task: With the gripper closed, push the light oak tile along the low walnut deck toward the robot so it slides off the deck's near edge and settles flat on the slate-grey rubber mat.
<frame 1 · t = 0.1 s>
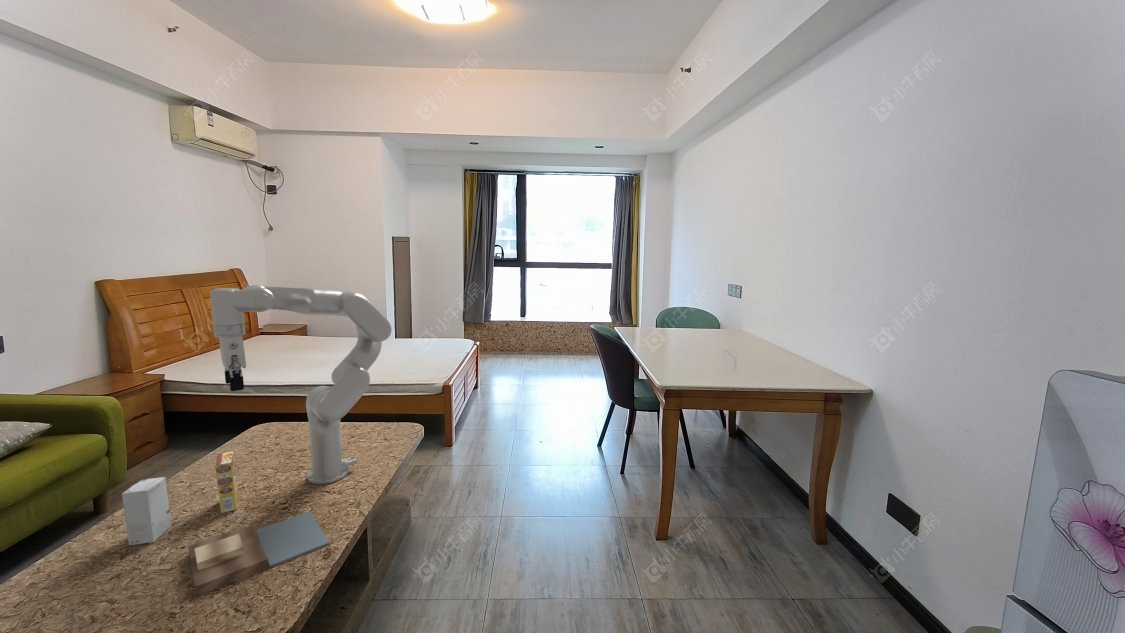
hand: (234, 386, 137), 37 cm above the table, tool pointing down, fingers open, 9 cm apart
tile: (219, 555, 114), point 2 cm above the table, touching deck
mat: (291, 538, 124), on the table
deck: (228, 561, 115), on the table
candy box: (229, 505, 140), on the table
skincare box: (150, 536, 125), on the table
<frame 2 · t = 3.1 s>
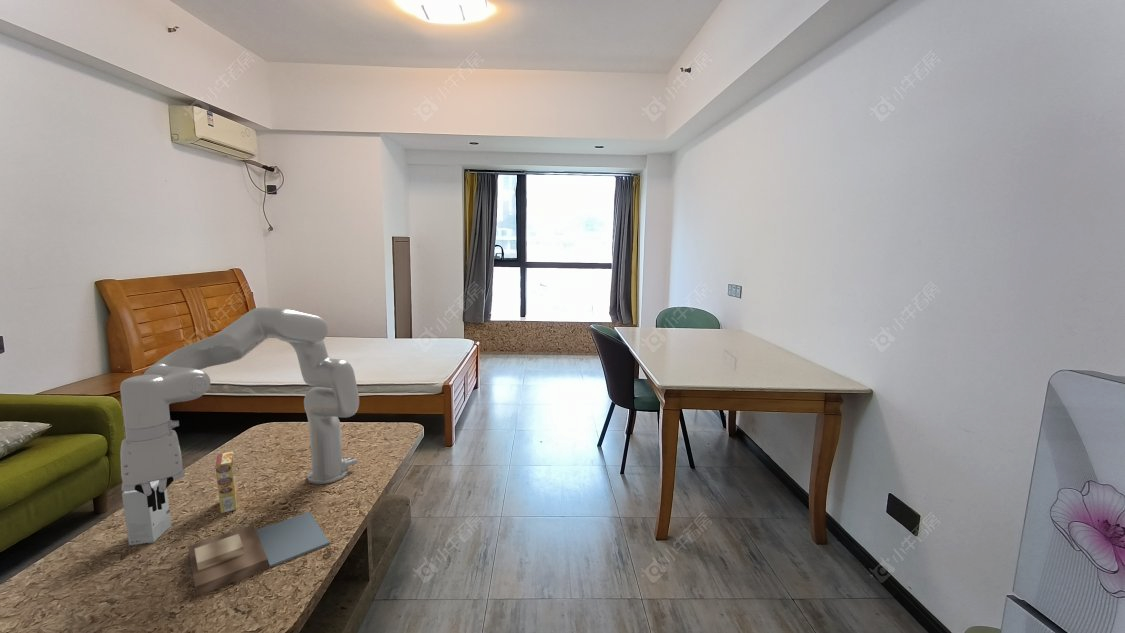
hand: (157, 507, 104), 19 cm above the table, tool pointing down, fingers closed
nothing on the table moved.
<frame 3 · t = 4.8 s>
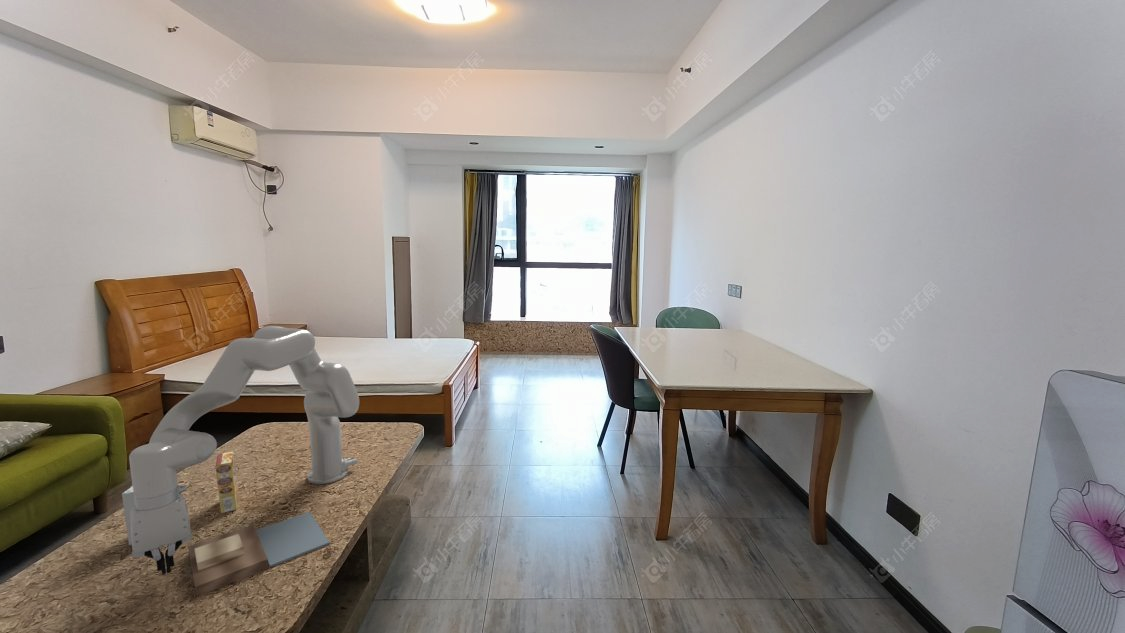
hand: (166, 570, 107), 3 cm above the table, tool pointing down, fingers closed
nothing on the table moved.
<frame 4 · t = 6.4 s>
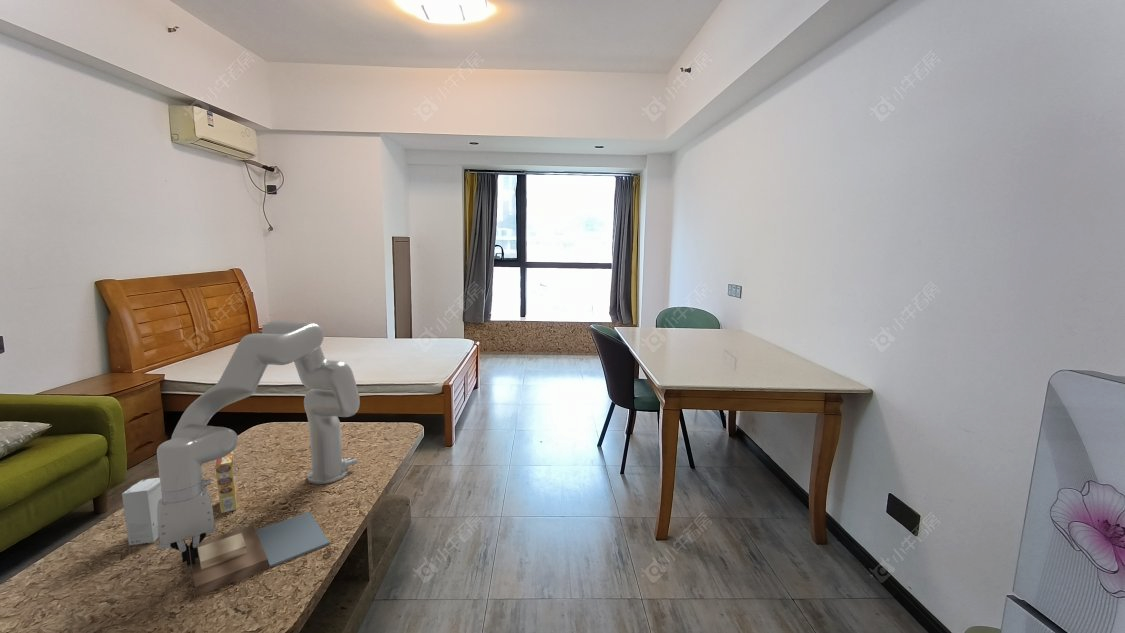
hand: (190, 562, 110), 3 cm above the table, tool pointing down, fingers closed
tile: (222, 554, 114), point 3 cm above the table, touching deck, gripper
everything else where it was.
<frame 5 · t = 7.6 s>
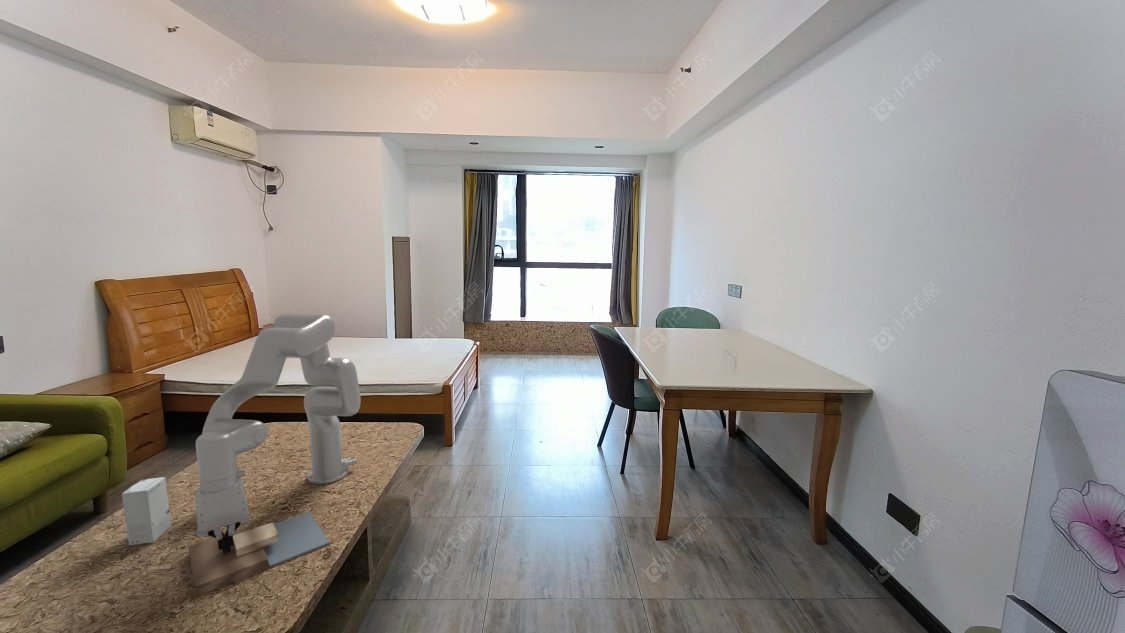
hand: (226, 549, 114), 3 cm above the table, tool pointing down, fingers closed
tile: (255, 542, 119), point 3 cm above the table
everything else where it was.
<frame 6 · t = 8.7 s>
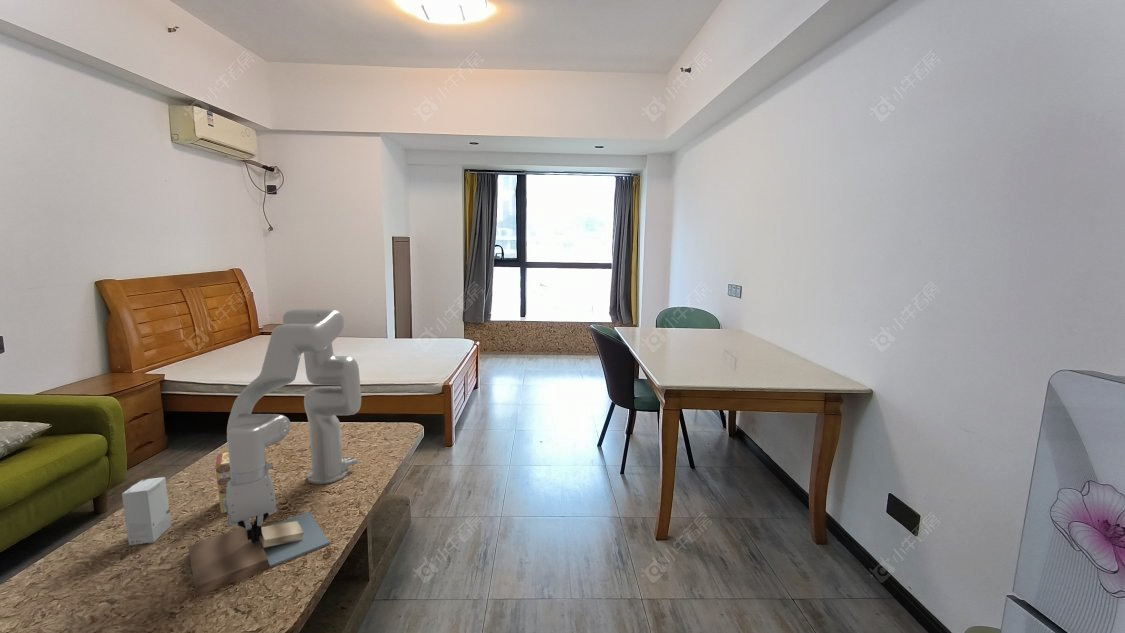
hand: (255, 539, 118), 3 cm above the table, tool pointing down, fingers closed
tile: (280, 537, 122), point 1 cm above the table, tilted 11°, touching mat
everything else where it was.
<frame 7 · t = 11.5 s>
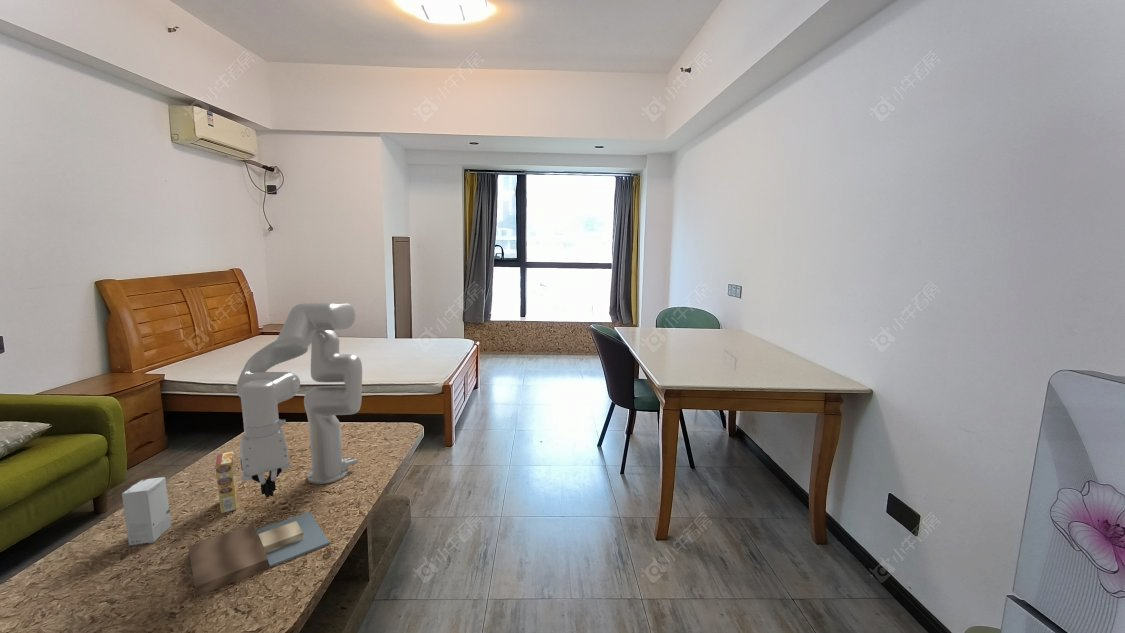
hand: (268, 494, 120), 14 cm above the table, tool pointing down, fingers closed
tile: (281, 540, 123), point 1 cm above the table, touching mat
everything else where it was.
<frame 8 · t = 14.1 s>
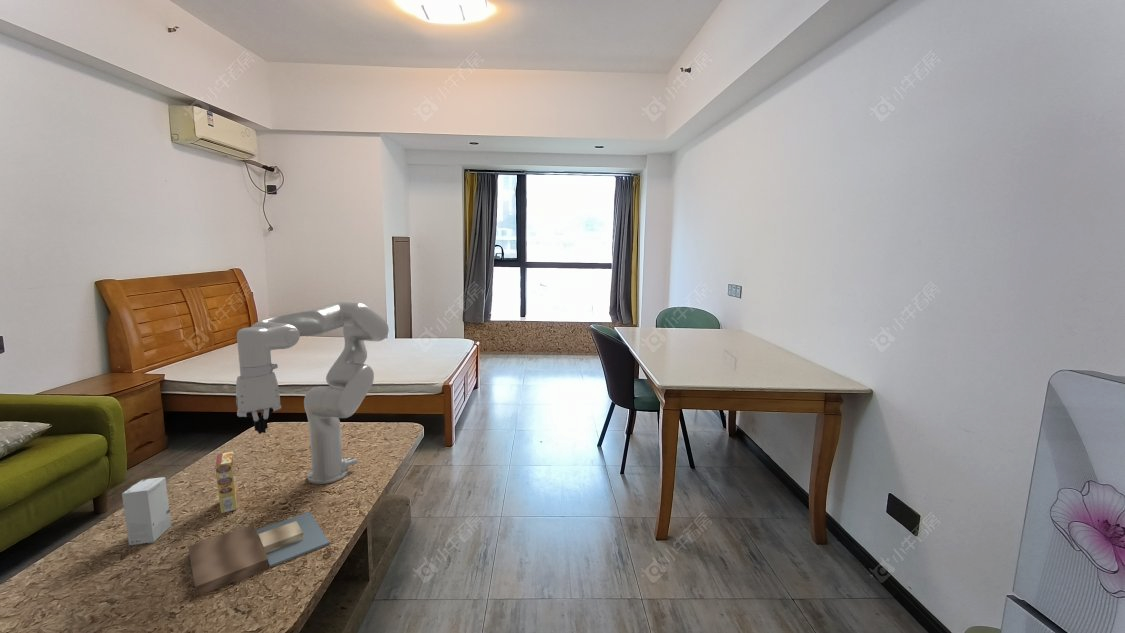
hand: (261, 431, 133), 25 cm above the table, tool pointing down, fingers closed
nothing on the table moved.
at the end: tile inside the target area (4.2 cm from its centre), point 0.6 cm above the table; tile touching mat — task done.
